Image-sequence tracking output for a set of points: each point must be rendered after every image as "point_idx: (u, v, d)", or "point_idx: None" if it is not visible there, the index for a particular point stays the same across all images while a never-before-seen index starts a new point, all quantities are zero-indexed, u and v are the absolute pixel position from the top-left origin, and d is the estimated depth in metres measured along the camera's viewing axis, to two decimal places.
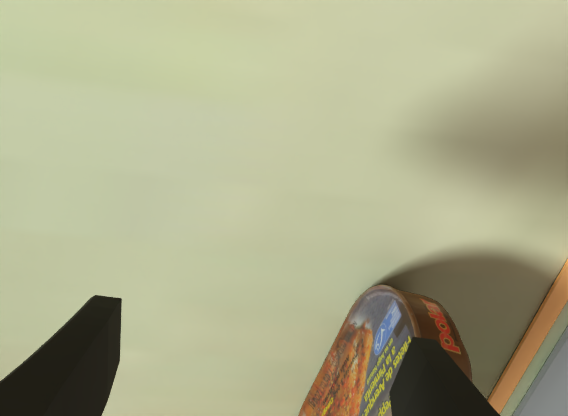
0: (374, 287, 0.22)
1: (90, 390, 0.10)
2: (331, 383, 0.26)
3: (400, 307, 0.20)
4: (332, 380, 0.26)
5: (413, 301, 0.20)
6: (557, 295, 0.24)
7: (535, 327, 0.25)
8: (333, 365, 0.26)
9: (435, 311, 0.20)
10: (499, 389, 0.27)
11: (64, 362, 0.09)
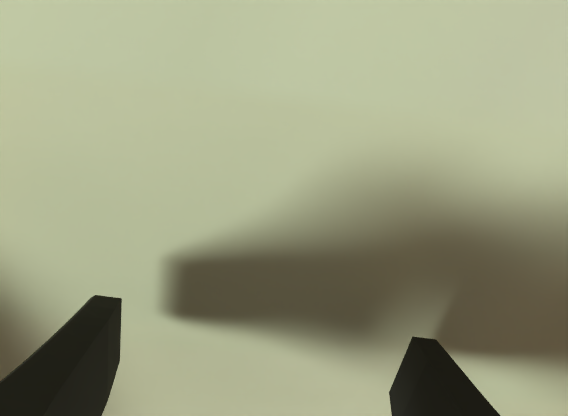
0: None
1: (90, 390, 0.10)
2: None
3: None
4: None
5: None
6: None
7: None
8: None
9: None
10: None
11: (64, 362, 0.09)
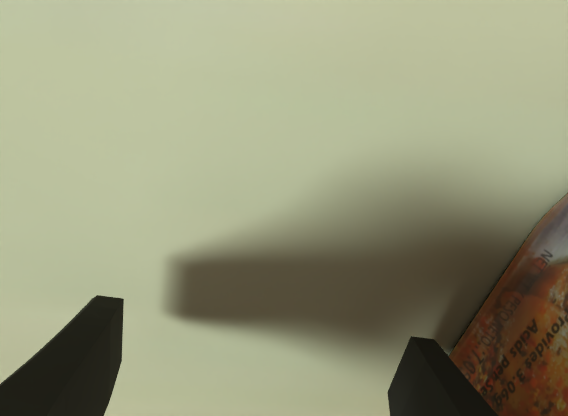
0: None
1: (92, 390, 0.10)
2: (481, 379, 0.13)
3: None
4: (483, 372, 0.13)
5: None
6: None
7: None
8: (484, 343, 0.13)
9: None
10: None
11: (66, 362, 0.09)
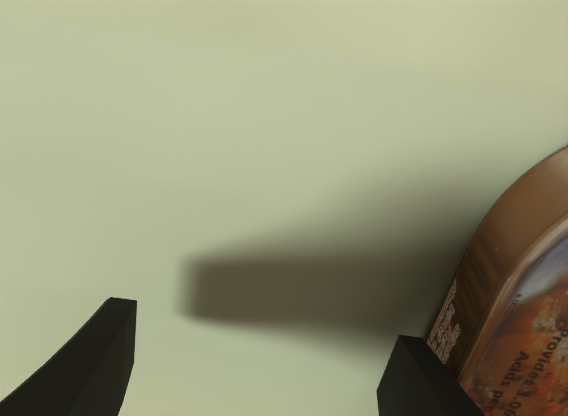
0: None
1: (107, 392, 0.10)
2: None
3: None
4: None
5: None
6: None
7: None
8: None
9: None
10: None
11: (84, 364, 0.09)
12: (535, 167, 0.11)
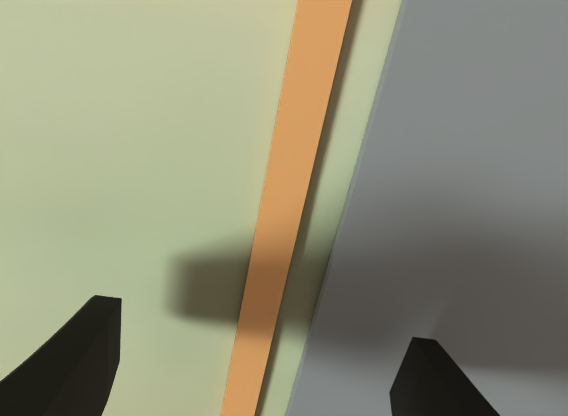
0: None
1: (90, 390, 0.10)
2: None
3: None
4: None
5: None
6: (305, 68, 0.10)
7: (276, 162, 0.11)
8: None
9: None
10: (245, 320, 0.13)
11: (64, 362, 0.09)
12: None
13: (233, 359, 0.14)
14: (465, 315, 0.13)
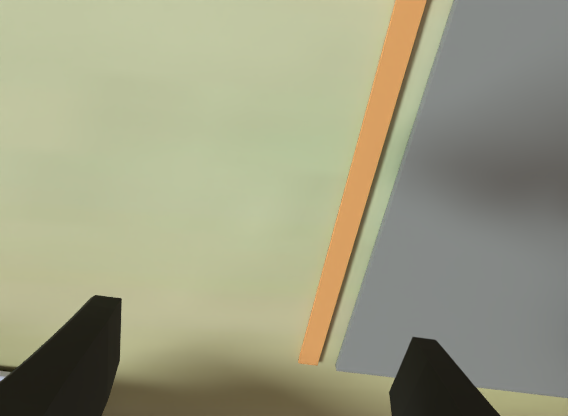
0: None
1: (90, 390, 0.10)
2: None
3: None
4: None
5: None
6: (399, 33, 0.17)
7: (377, 91, 0.18)
8: None
9: None
10: (346, 200, 0.20)
11: (64, 362, 0.09)
12: None
13: (335, 230, 0.21)
14: (488, 195, 0.20)
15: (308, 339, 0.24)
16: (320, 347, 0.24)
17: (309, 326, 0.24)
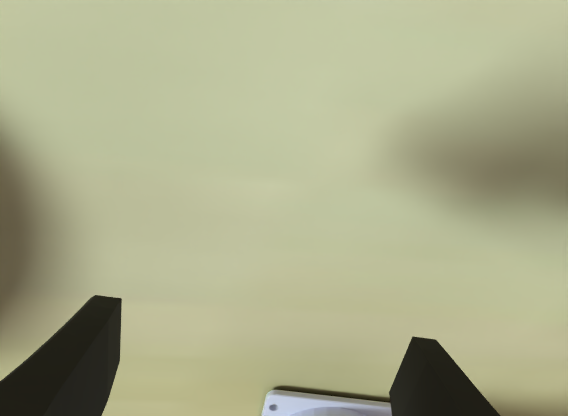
0: None
1: (90, 390, 0.10)
2: None
3: None
4: None
5: None
6: None
7: None
8: None
9: None
10: None
11: (64, 362, 0.09)
12: None
13: None
14: None
15: None
16: None
17: None
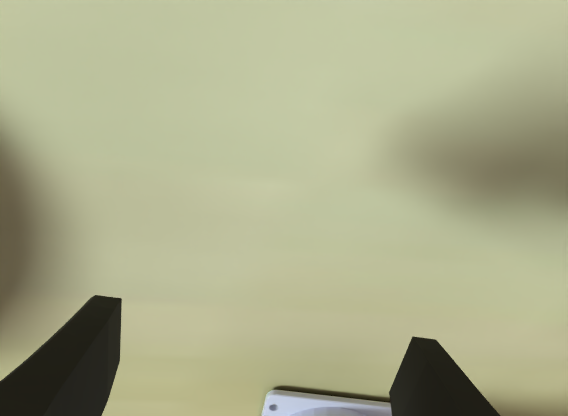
0: None
1: (90, 390, 0.10)
2: None
3: None
4: None
5: None
6: None
7: None
8: None
9: None
10: None
11: (64, 362, 0.09)
12: None
13: None
14: None
15: None
16: None
17: None
